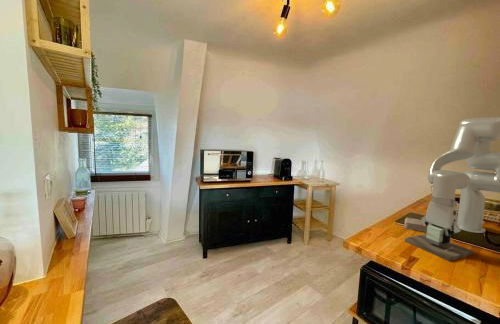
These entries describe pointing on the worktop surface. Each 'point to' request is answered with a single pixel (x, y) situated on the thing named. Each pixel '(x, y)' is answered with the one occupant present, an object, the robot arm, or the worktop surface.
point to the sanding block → (435, 234)
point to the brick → (415, 224)
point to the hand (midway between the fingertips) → (438, 239)
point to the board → (440, 248)
